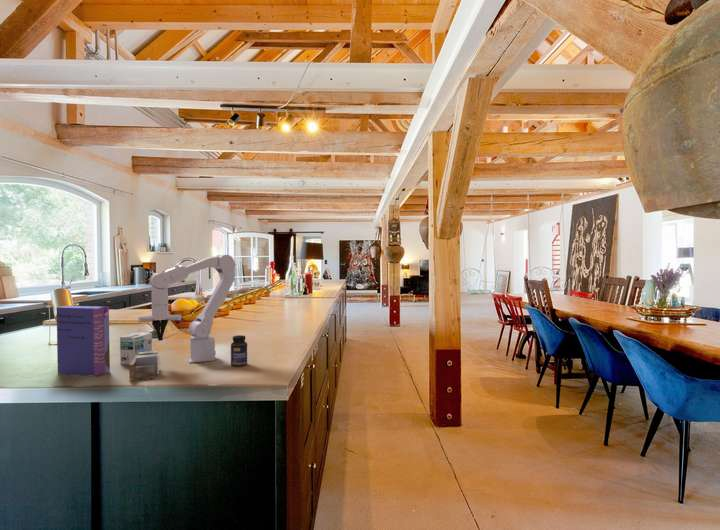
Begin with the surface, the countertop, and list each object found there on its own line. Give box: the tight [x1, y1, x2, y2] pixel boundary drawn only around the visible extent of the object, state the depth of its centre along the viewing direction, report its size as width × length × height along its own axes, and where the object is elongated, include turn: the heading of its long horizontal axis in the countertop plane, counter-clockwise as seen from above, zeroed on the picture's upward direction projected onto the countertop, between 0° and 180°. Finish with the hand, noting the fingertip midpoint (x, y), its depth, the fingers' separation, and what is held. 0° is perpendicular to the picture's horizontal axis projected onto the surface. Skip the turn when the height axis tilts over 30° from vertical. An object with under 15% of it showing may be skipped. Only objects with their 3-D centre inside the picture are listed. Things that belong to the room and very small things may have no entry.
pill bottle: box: [230, 335, 248, 367], centre depth 156 cm, size 6×6×11 cm
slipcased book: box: [136, 353, 161, 375], centre depth 145 cm, size 7×4×6 cm, turn 110°
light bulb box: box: [119, 331, 153, 365], centre depth 163 cm, size 11×7×11 cm, turn 172°
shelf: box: [128, 350, 159, 382], centre depth 145 cm, size 7×15×6 cm, turn 21°
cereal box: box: [56, 305, 111, 377], centre depth 146 cm, size 17×5×24 cm, turn 78°
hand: (160, 340), depth 156 cm, fingers closed
